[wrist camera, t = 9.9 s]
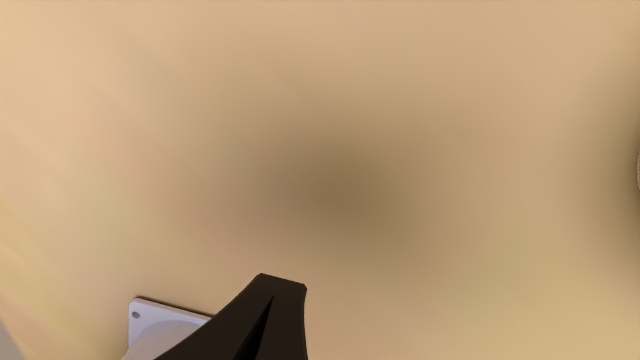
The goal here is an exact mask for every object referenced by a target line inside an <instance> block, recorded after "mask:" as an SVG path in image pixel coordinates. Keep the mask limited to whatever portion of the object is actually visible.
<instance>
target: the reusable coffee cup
mask: <svg viewBox="0 0 640 360" xmlns="http://www.w3.org/2000/svg"><path fill="white" fill-rule="evenodd" d="M637 183H638V187H639V190H640V150H639V155H638V159H637Z"/></svg>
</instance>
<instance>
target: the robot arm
mask: <svg viewBox="0 0 640 360" xmlns="http://www.w3.org/2000/svg"><path fill="white" fill-rule="evenodd" d="M306 292H307V288H306V286H305V285H304V284H302V283H298V282H294V281H290V280H286V279H282V278H278V277H275V276H271V275H267V274H263V273H261V274H259V275H257V276H256V277H255V278H254V279H253V280H252V281H251V282H250V283H249V284H248V285H247V287H246V288H245V289H244V290H243V291H241V292H240V293H239V294H238V295H237V296H236V297H235V298H234V299H233V300H232V301H231V302H230V303H229V304H227V305H226V306H225V307H224V308H223V309H222V310H221V311H219V312H218V313H217V314H216V315H215V316H214V317H212V318H211V317H207V316H203V315H199V314H196V313H192V312H188V311H185V310H181V309H177V308H173V307H170V306H166V305H162V304H158V303H155V302H151V301H147V300H143V299H140V298H135V299H133V300H132V301H131V302H130V303H129V329H128V351H127V352H126V354H125V355H124V356H123V358H122V359H121V360H308V355H307V348H306V338H305V327H304V303H305V296H306ZM137 312H138V313H139V314H138V313H137Z"/></svg>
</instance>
